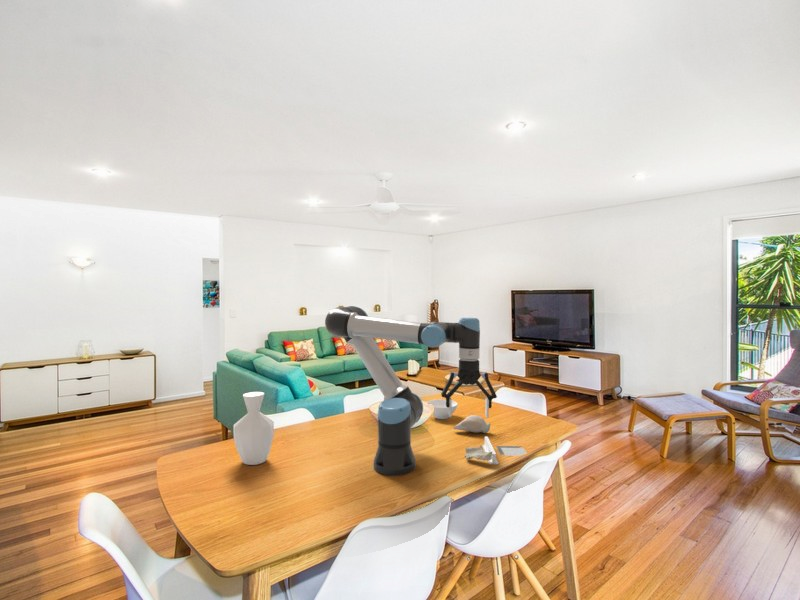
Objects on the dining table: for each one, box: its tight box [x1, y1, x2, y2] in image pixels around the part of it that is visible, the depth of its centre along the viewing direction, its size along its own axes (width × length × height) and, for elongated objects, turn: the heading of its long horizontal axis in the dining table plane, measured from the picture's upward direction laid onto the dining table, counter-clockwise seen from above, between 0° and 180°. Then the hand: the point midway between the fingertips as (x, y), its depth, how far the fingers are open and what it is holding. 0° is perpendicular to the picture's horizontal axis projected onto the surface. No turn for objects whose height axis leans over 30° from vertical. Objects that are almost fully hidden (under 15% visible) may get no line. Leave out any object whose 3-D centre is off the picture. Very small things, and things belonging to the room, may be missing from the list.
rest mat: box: [496, 445, 527, 457], centre depth 154 cm, size 12×12×1 cm
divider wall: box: [481, 436, 499, 465], centre depth 152 cm, size 3×18×4 cm, turn 177°
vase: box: [232, 391, 275, 466], centre depth 148 cm, size 14×14×25 cm
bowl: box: [425, 398, 459, 420], centre depth 201 cm, size 16×16×7 cm
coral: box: [464, 445, 492, 462], centre depth 145 cm, size 6×10×4 cm, turn 64°
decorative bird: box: [453, 414, 491, 434], centre depth 177 cm, size 9×16×8 cm, turn 79°
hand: (468, 416), depth 147 cm, fingers open, 13 cm apart
